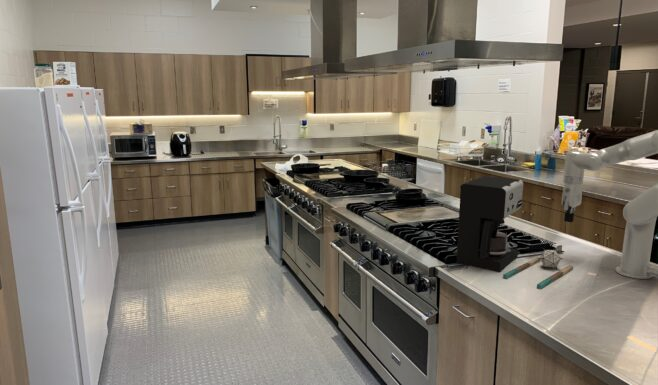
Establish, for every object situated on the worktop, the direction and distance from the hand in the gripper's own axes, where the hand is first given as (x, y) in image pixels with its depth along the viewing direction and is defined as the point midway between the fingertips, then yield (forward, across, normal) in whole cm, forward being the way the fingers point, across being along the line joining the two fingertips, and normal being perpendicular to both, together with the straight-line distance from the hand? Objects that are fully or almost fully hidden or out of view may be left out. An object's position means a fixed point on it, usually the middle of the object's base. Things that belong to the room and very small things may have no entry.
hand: (568, 221), depth 208 cm
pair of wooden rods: (+17, -26, 0) cm, 31 cm away
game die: (+17, -16, 0) cm, 23 cm away
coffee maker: (+17, -28, +22) cm, 40 cm away
